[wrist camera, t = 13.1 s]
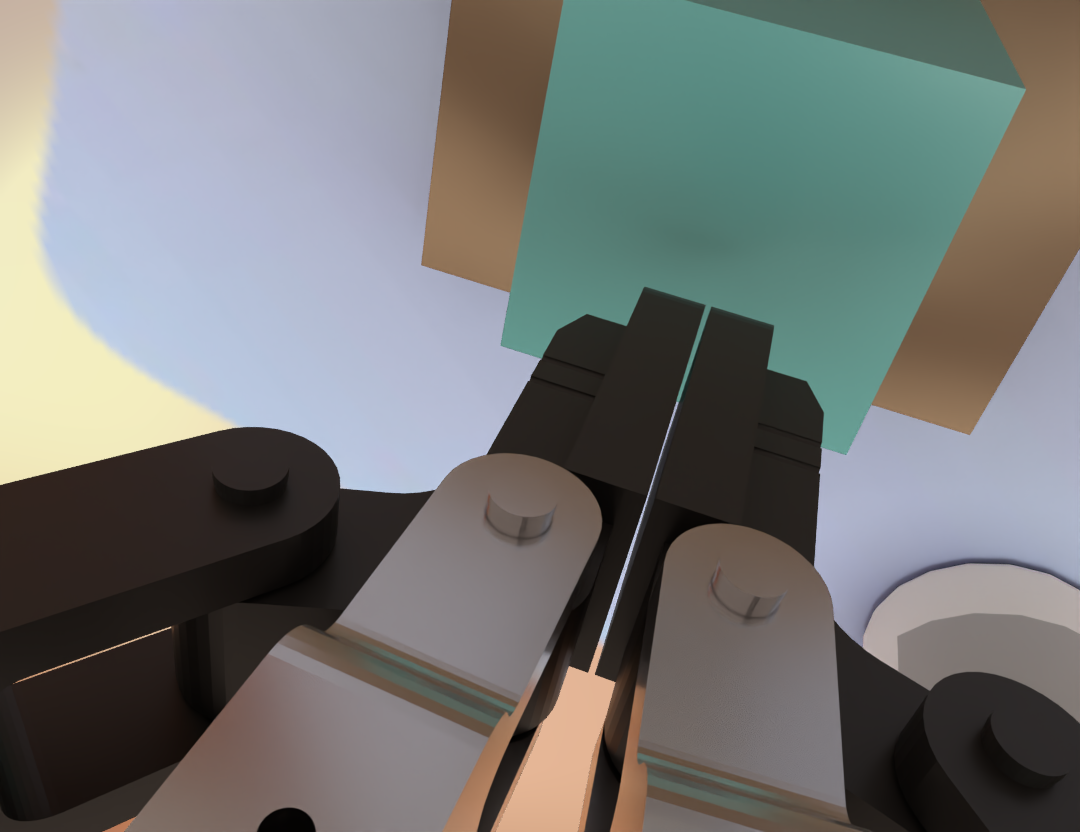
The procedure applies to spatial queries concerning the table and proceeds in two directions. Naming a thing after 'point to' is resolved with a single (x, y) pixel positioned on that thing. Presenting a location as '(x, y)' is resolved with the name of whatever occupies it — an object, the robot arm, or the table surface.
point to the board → (965, 271)
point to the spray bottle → (983, 629)
